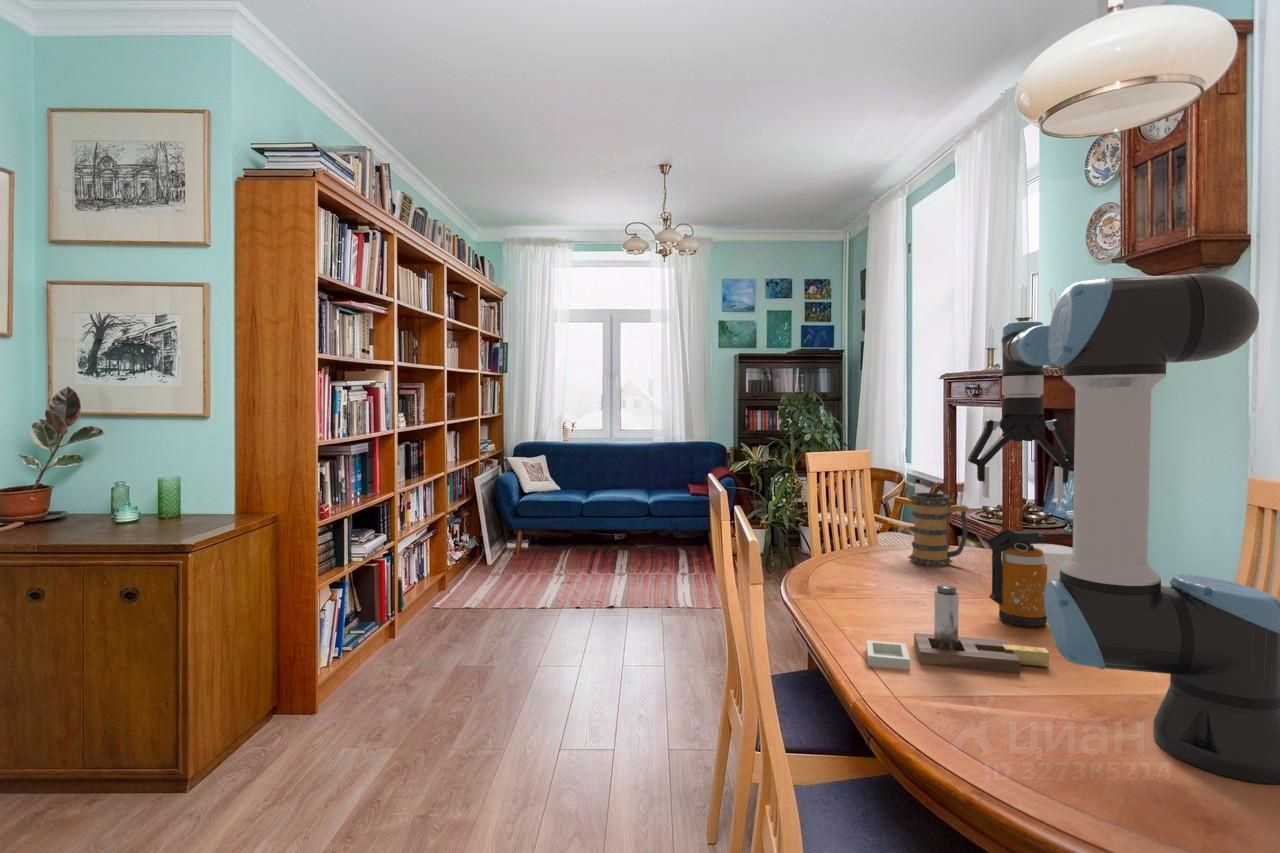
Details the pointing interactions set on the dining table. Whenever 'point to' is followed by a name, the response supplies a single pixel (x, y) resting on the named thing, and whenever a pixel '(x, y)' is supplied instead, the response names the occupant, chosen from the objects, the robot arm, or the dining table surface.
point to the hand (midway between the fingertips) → (1021, 497)
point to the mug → (934, 529)
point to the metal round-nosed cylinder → (946, 618)
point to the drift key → (1029, 654)
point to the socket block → (967, 654)
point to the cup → (1054, 558)
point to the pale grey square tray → (887, 655)
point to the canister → (1019, 578)
